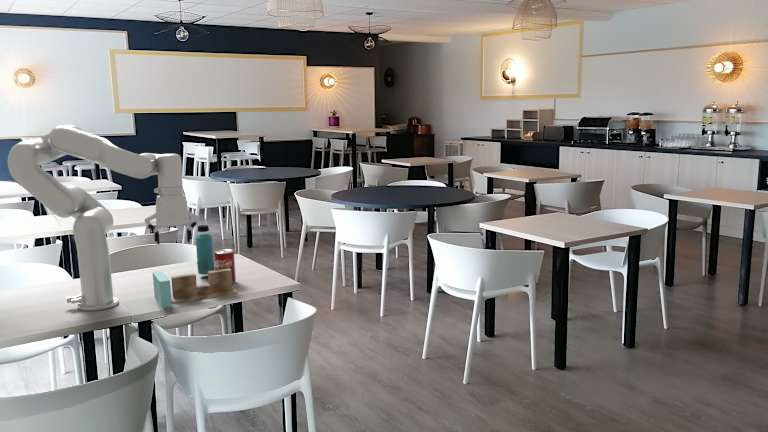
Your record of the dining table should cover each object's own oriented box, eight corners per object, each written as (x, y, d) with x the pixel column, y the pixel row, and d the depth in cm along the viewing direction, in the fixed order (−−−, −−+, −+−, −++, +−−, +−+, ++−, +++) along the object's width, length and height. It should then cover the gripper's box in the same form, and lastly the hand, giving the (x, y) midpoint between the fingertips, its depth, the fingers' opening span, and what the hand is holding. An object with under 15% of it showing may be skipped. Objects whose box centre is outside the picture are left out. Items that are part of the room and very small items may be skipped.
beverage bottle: (219, 275, 256) (215, 224, 252) (206, 279, 250) (202, 227, 247) (207, 273, 259) (203, 223, 256) (194, 277, 254) (190, 226, 250)
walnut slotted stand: (172, 303, 221) (171, 280, 220) (168, 297, 228) (166, 274, 227) (237, 293, 231) (236, 271, 230) (231, 288, 238) (230, 266, 237)
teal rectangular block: (161, 308, 217) (159, 281, 215) (154, 297, 229) (152, 272, 227) (171, 306, 218) (169, 280, 217) (164, 296, 230) (162, 270, 229)
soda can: (230, 286, 241) (228, 253, 239) (212, 285, 243) (210, 253, 240) (239, 280, 248) (237, 249, 246) (220, 279, 250) (219, 248, 247)
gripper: (142, 194, 211) (146, 246, 214) (199, 191, 217) (201, 243, 220) (142, 191, 218) (145, 242, 221) (197, 189, 224) (199, 238, 227)
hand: (173, 242), depth 221 cm, fingers open, 9 cm apart
